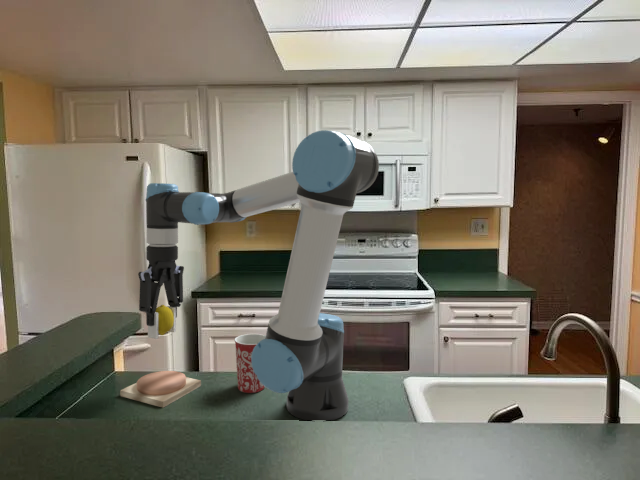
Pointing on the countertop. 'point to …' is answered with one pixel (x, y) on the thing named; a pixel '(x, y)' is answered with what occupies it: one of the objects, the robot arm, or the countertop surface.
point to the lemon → (164, 319)
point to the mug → (247, 363)
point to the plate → (160, 388)
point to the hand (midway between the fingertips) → (162, 334)
